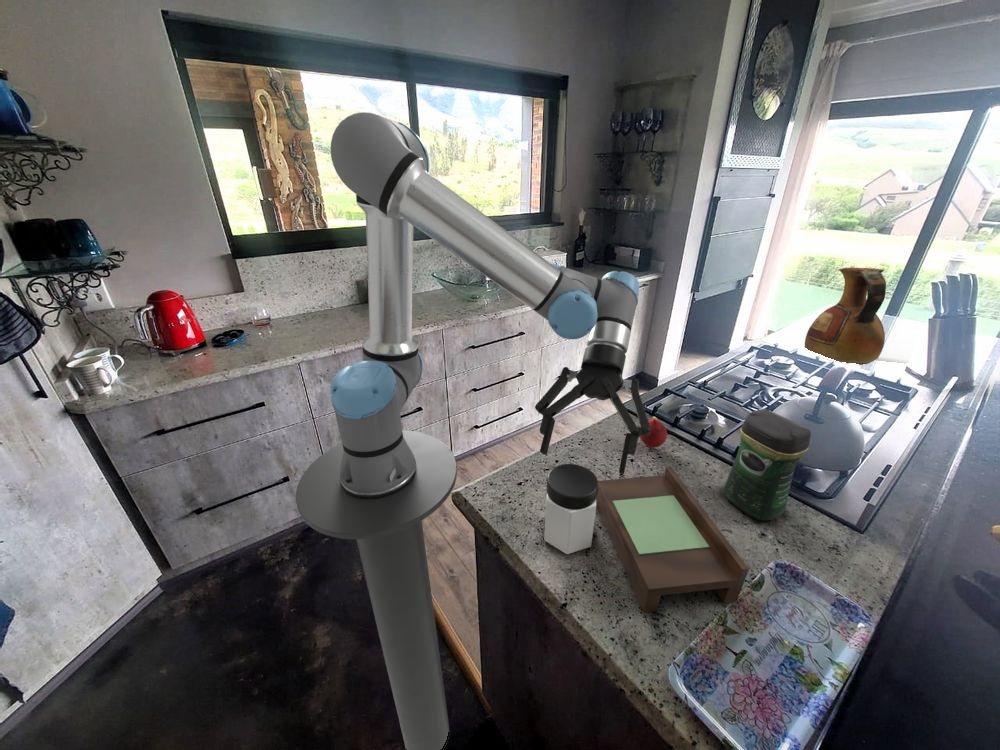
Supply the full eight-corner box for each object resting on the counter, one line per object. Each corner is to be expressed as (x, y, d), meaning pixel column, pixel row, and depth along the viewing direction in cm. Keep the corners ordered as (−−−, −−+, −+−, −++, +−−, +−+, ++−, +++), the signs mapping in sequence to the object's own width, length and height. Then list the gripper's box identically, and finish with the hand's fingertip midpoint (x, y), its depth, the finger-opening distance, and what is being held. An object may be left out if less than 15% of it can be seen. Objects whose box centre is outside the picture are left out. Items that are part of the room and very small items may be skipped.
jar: (592, 558, 65) (600, 502, 60) (542, 551, 66) (544, 496, 61) (591, 517, 73) (597, 464, 68) (546, 511, 74) (549, 459, 69)
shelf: (594, 501, 76) (597, 472, 73) (664, 495, 78) (671, 466, 75) (643, 612, 57) (651, 579, 54) (736, 602, 58) (749, 568, 55)
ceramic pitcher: (847, 348, 142) (882, 261, 128) (891, 373, 124) (937, 275, 110) (788, 347, 143) (816, 261, 130) (823, 371, 125) (860, 274, 112)
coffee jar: (790, 514, 73) (825, 428, 65) (761, 528, 70) (793, 440, 62) (742, 481, 81) (768, 401, 73) (714, 492, 78) (737, 410, 70)
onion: (664, 443, 93) (670, 413, 89) (662, 457, 88) (669, 426, 85) (638, 437, 95) (643, 408, 91) (635, 451, 90) (640, 421, 87)
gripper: (675, 368, 74) (656, 483, 68) (545, 349, 83) (518, 449, 77) (680, 352, 67) (659, 478, 61) (538, 333, 76) (508, 442, 70)
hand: (580, 462), depth 69 cm, fingers open, 13 cm apart
